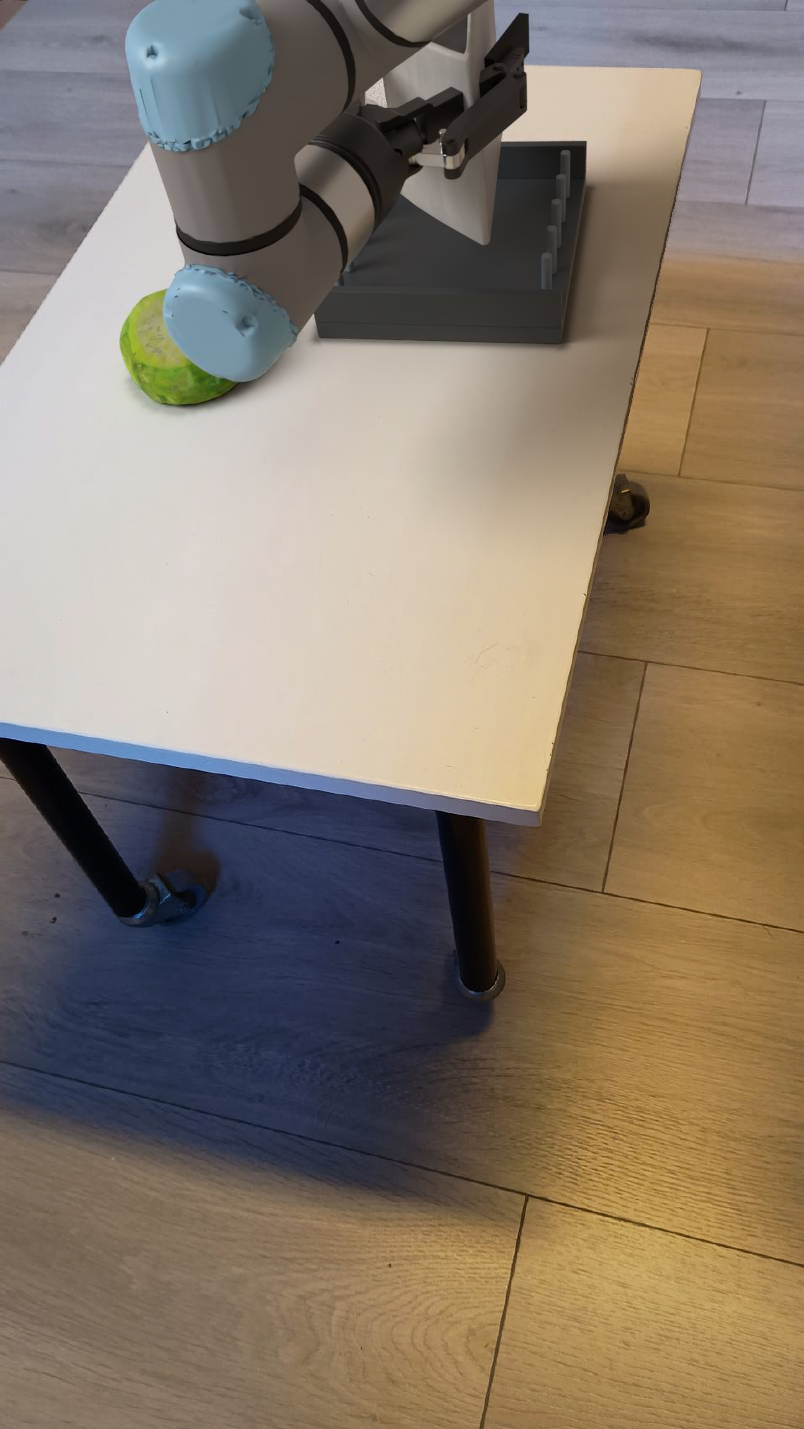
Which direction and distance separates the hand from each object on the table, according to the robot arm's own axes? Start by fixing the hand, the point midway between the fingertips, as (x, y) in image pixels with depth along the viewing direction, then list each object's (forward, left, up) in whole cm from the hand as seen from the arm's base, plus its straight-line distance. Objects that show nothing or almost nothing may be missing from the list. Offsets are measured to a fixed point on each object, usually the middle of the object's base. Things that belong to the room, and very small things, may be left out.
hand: (464, 25), depth 84 cm
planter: (+1, +4, -11) cm, 12 cm away
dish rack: (+1, +4, -17) cm, 18 cm away
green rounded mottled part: (+21, +18, -17) cm, 33 cm away
